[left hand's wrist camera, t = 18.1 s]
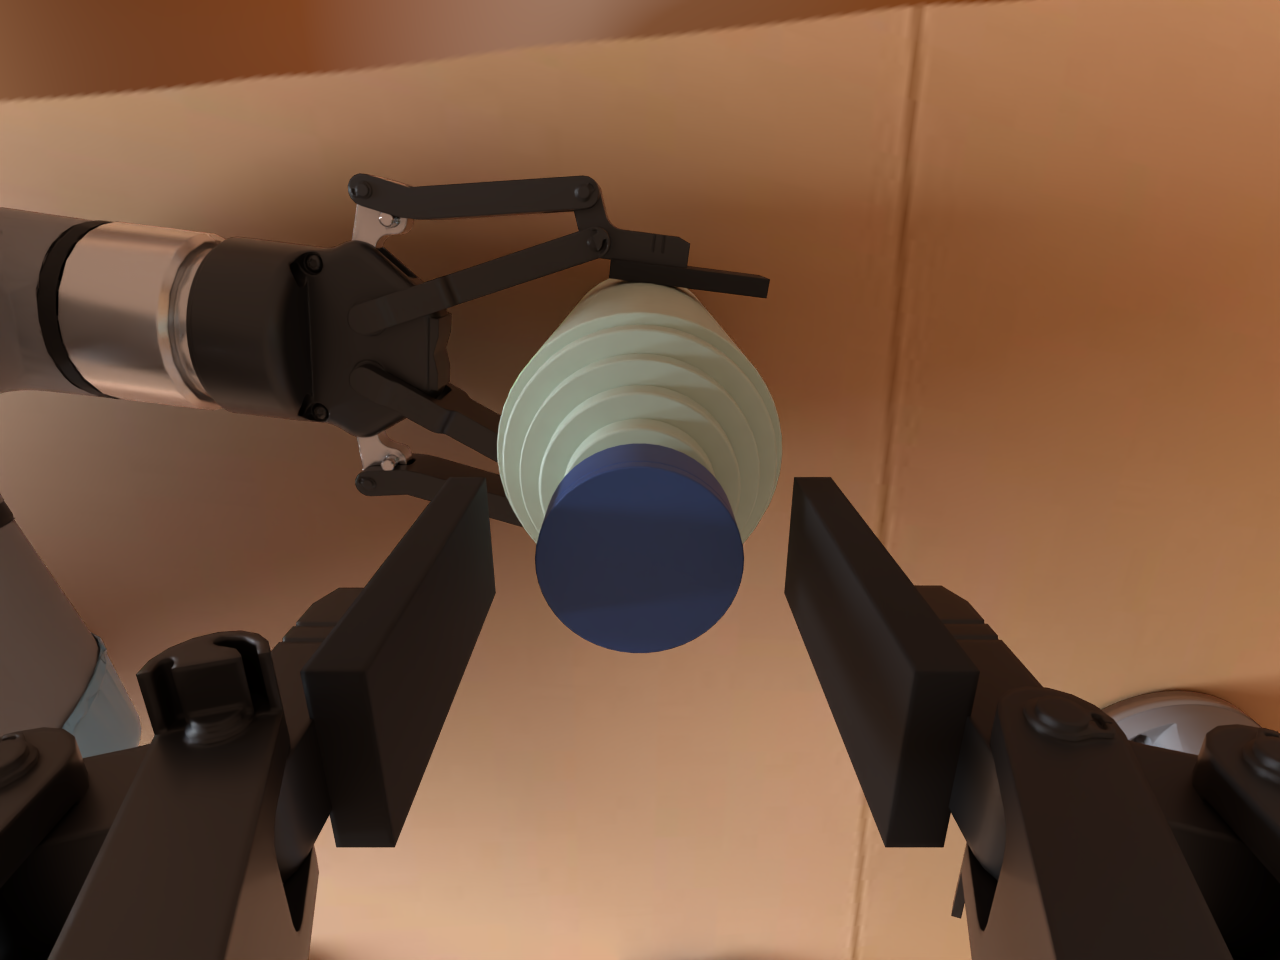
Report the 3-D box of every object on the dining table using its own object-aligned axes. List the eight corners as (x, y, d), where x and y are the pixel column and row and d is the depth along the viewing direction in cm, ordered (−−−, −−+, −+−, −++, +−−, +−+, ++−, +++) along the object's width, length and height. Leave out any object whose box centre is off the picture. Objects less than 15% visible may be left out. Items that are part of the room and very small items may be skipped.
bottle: (537, 380, 37) (377, 618, 14) (608, 241, 34) (548, 264, 12) (667, 449, 38) (707, 766, 16) (744, 321, 36) (924, 478, 13)
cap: (763, 477, 14) (776, 504, 13) (695, 635, 15) (701, 675, 14) (576, 416, 14) (569, 438, 12) (523, 585, 15) (511, 622, 14)
